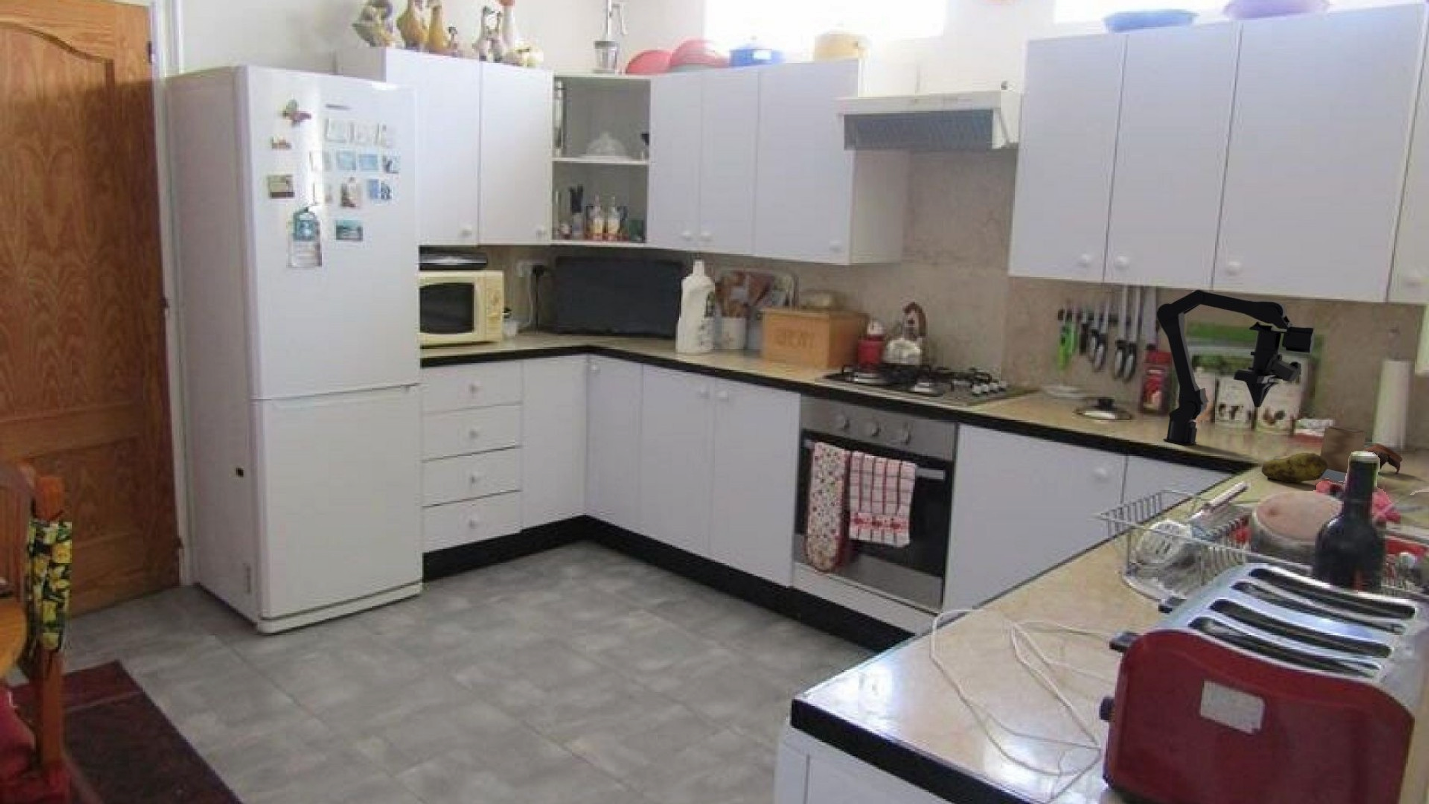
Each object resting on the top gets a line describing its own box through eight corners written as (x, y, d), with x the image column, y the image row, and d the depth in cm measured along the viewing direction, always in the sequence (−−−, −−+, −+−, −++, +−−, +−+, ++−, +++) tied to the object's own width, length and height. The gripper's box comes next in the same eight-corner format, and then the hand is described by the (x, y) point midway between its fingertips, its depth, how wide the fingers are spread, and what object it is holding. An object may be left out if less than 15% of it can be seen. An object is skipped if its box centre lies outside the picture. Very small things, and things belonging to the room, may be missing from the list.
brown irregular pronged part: (1348, 466, 271) (1369, 441, 270) (1383, 488, 267) (1404, 463, 266) (1353, 463, 261) (1375, 437, 259) (1390, 485, 256) (1412, 459, 255)
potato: (1275, 475, 252) (1280, 443, 250) (1329, 488, 241) (1334, 455, 240) (1256, 478, 247) (1261, 445, 246) (1309, 491, 237) (1315, 458, 235)
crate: (1315, 475, 254) (1324, 426, 252) (1326, 472, 258) (1335, 424, 255) (1346, 482, 248) (1356, 432, 246) (1357, 479, 252) (1367, 430, 250)
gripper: (1280, 354, 258) (1270, 415, 261) (1315, 352, 269) (1305, 411, 272) (1237, 348, 267) (1227, 406, 270) (1272, 346, 278) (1263, 403, 281)
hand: (1257, 407), depth 273 cm, fingers closed
